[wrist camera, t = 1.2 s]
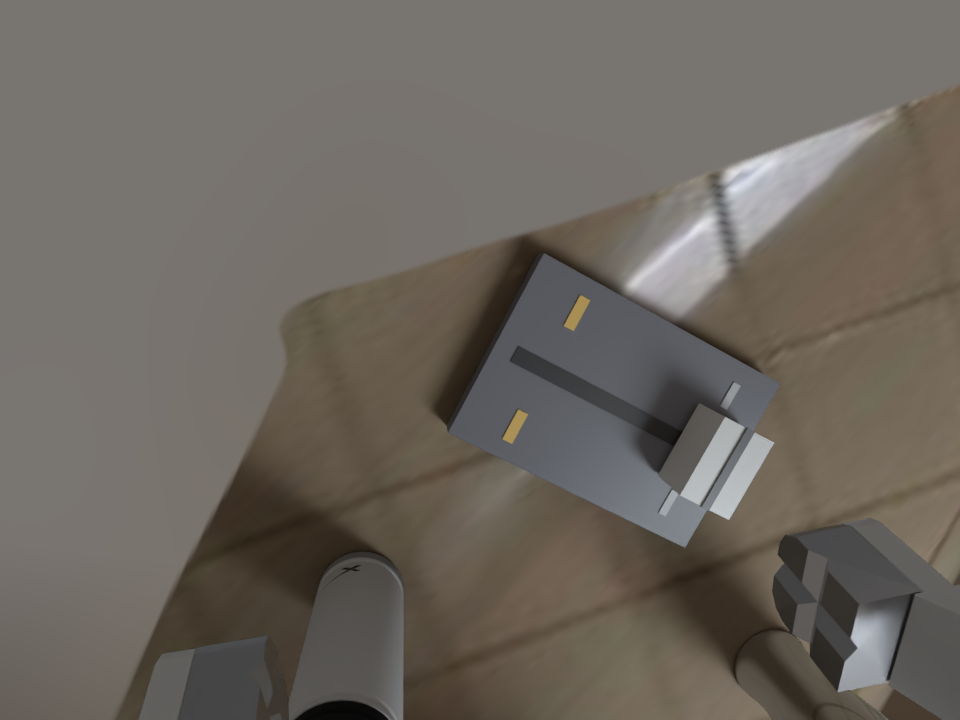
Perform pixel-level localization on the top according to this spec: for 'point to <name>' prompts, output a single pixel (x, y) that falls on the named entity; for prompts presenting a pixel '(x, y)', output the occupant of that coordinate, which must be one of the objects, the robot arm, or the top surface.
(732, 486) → the fader knob
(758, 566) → the top surface
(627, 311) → the fader panel
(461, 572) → the top surface
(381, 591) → the travel mug
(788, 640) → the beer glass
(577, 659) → the top surface
